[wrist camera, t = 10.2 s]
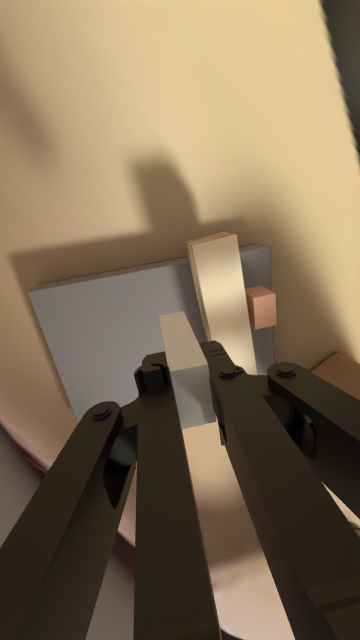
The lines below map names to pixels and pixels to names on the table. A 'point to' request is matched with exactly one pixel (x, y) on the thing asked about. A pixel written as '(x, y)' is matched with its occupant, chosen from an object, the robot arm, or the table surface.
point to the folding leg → (222, 295)
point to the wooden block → (341, 373)
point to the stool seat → (136, 322)
